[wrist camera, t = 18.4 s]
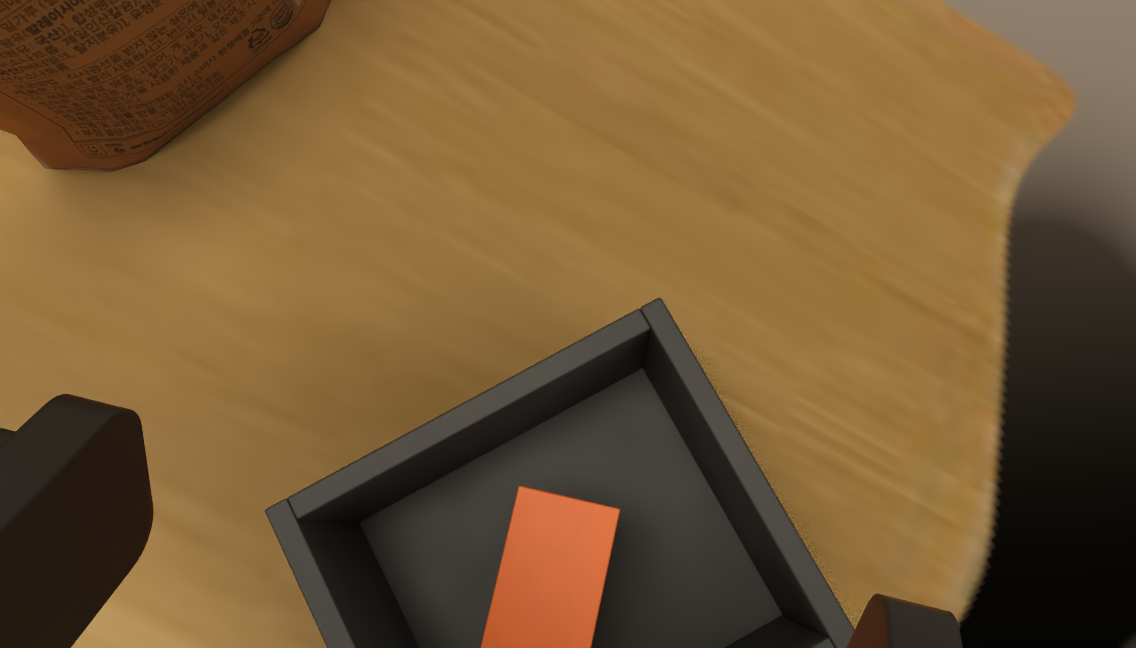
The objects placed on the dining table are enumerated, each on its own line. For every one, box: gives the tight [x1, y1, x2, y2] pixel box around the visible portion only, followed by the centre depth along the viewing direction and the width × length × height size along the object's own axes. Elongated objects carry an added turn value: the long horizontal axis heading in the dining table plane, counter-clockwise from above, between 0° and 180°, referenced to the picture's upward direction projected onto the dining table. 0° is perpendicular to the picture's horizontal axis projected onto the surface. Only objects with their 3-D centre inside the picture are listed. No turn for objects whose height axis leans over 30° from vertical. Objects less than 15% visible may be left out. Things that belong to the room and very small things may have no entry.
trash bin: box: [265, 298, 855, 648], centre depth 34 cm, size 15×13×9 cm
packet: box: [481, 486, 620, 648], centre depth 32 cm, size 5×3×11 cm, turn 167°
